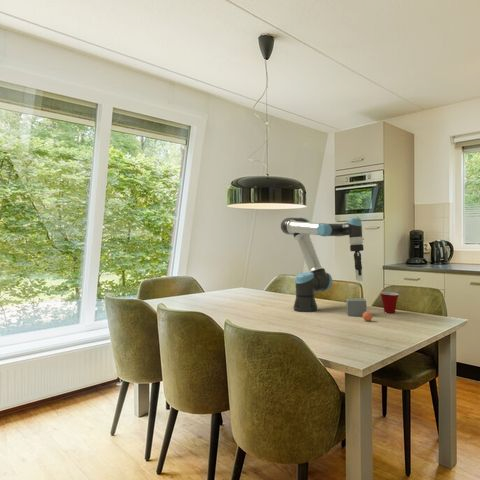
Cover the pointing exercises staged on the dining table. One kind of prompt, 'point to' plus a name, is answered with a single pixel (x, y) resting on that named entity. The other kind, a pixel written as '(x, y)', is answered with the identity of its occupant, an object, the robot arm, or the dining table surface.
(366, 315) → the ball
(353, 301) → the trap cup
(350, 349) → the dining table surface
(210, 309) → the dining table surface
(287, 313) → the dining table surface
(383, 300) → the plastic cup
